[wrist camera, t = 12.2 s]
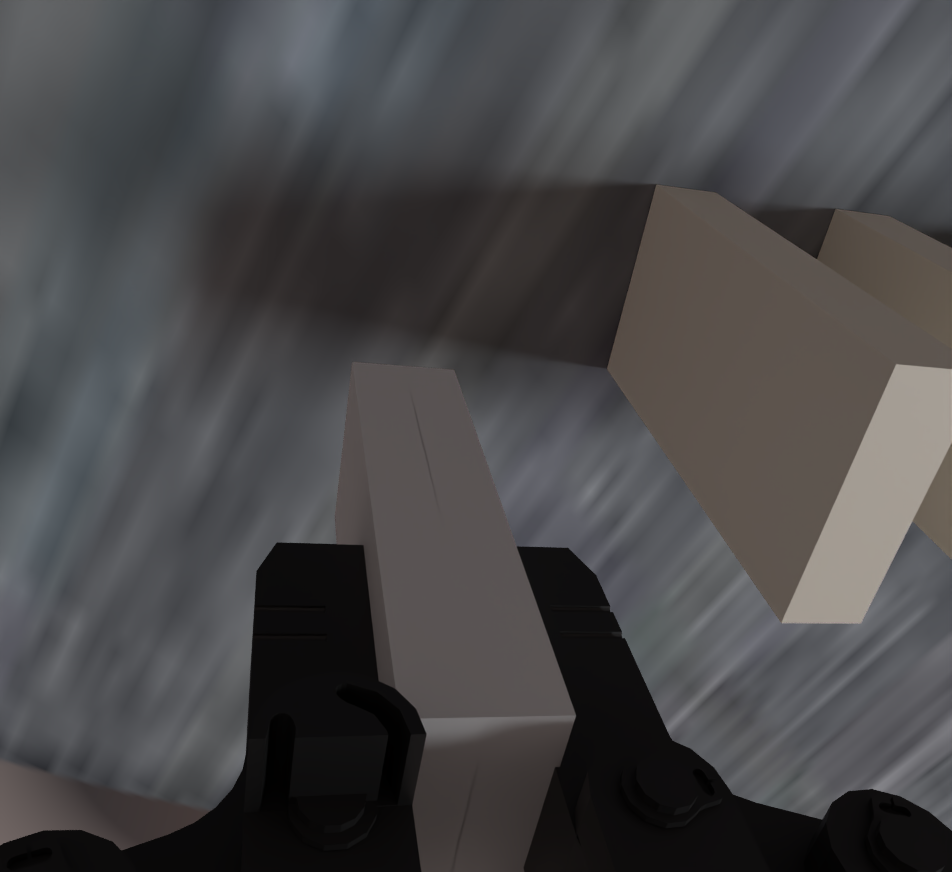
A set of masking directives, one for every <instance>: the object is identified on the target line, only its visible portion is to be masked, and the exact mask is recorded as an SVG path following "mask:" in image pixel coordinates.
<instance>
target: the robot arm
mask: <svg viewBox="0 0 952 872" xmlns="http://www.w3.org/2000/svg"><path fill="white" fill-rule="evenodd" d="M335 526H336V540H337V544H310V543H276V544H275V546H274V547H273V549H272V550H271V551H270V553H269V554H268V556H267V557H266V559H265V560H264V561H263V563H262V564H261V566H260V567H259V568H258V570H257V573H256V589H255V605H254V622H253V638H252V654H251V671H250V689H249V707H248V725H247V743H246V756H245V761H244V766H243V770H242V772H241V774H240V776H239V778H238V779H237V781H236V783H235V785H234V787H233V789H232V790H231V791H230V792H229V793H228V794H227V796H226V797H225V798H224V799H223V800H222V801H221V802H220V803H219V805H218V806H217V807H216V808H214V809H213V810H212V811H210V812H209V813H207V814H206V815H205V816H203V817H202V818H201V819H199V820H198V821H196V822H195V823H193V824H191V825H188V826H186V827H184V828H182V829H180V830H178V831H175V832H173V833H171V834H169V835H166V836H163V837H160V838H157V839H154V840H151V841H148V842H145V843H142V844H139V845H136V846H134V847H131V848H128V849H125V850H122V851H121V850H120V849H119V848H118V847H117V846H116V845H115V844H114V843H113V842H112V841H109V840H107V839H104V838H101V837H99V836H96V835H93V834H90V833H88V832H85V831H82V830H60V831H59V830H52V831H41V832H38V833H34V834H31V835H28V836H25V837H22V838H19V839H16V840H13V841H9V842H7V843H3V844H2V845H0V872H952V831H951V830H950V829H949V828H948V827H946V826H945V825H944V824H943V823H942V822H941V821H939V820H938V819H937V818H936V817H935V816H933V815H932V814H931V813H930V812H928V811H926V810H925V809H923V808H921V807H919V806H917V805H915V804H913V803H912V802H910V801H908V800H906V799H904V798H902V797H900V796H897V795H893V794H889V793H885V792H881V791H877V790H873V789H869V790H858V791H848V792H847V793H845V794H844V795H842V796H841V797H840V798H838V799H837V800H835V801H834V802H832V804H831V806H830V807H829V809H828V811H827V813H826V815H825V816H824V818H823V820H821V819H817V818H813V817H809V816H806V815H802V814H798V813H794V812H790V811H786V810H782V809H778V808H774V807H770V806H767V805H763V804H759V803H755V802H752V801H750V800H747V799H744V798H741V797H738V796H735V795H733V794H732V793H731V791H730V790H729V788H728V787H727V785H726V784H725V783H724V781H723V780H722V778H721V777H720V776H719V774H718V773H717V771H716V770H715V769H714V767H713V766H711V765H710V764H709V763H708V762H706V761H705V760H704V759H703V758H701V757H700V756H699V755H698V754H696V753H695V752H694V751H693V750H691V749H690V748H688V747H685V746H683V745H681V744H679V743H676V742H674V741H672V739H671V737H670V736H669V734H668V732H667V729H666V727H665V725H664V723H663V721H662V718H661V716H660V714H659V712H658V710H657V708H656V705H655V703H654V701H653V699H652V697H651V694H650V692H649V690H648V688H647V686H646V683H645V681H644V679H643V677H642V675H641V673H640V670H639V668H638V666H637V664H636V662H635V659H634V657H633V655H632V653H631V651H630V648H629V646H628V644H627V642H626V640H625V638H622V631H621V629H620V627H619V624H618V622H617V620H616V618H615V616H614V614H613V612H610V605H609V603H608V600H607V598H606V596H605V594H604V592H603V589H602V587H601V585H600V583H599V581H598V579H597V576H596V575H595V574H594V573H593V572H592V571H591V570H590V569H589V568H588V567H587V566H586V565H585V564H584V563H583V562H582V561H581V560H580V559H579V558H578V557H577V556H576V555H575V554H574V553H573V552H572V551H571V550H570V549H569V548H551V547H516V544H515V541H514V538H513V535H512V532H511V530H510V527H509V524H508V521H507V518H506V515H505V513H504V510H503V507H502V504H501V501H500V498H499V496H498V493H497V490H496V487H495V484H494V481H493V479H492V476H491V473H490V470H489V467H488V464H487V462H486V459H485V456H484V453H483V450H482V447H481V445H480V442H479V439H478V436H477V433H476V430H475V427H474V425H473V422H472V419H471V416H470V413H469V410H468V408H467V405H466V402H465V399H464V396H463V393H462V391H461V388H460V385H459V382H458V379H457V376H456V374H455V371H454V370H452V369H439V368H426V367H413V366H400V365H387V364H374V363H362V362H352V369H351V378H350V386H349V395H348V404H347V413H346V422H345V431H344V440H343V449H342V458H341V467H340V476H339V484H338V493H337V502H336V511H335Z"/></svg>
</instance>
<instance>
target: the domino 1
mask: <svg viewBox="0 0 952 872" xmlns="http://www.w3.org/2000/svg"><path fill="white" fill-rule="evenodd" d="M607 370H608V371H609V373H610V374H611V376H612V377H613V379H614V380H615V382H616V383H617V384H618V386H619V387H620V389H621V390H622V392H623V393H624V395H625V396H626V398H627V399H628V400H629V402H630V403H631V405H632V406H633V408H634V409H635V411H636V412H637V414H638V415H639V416H640V418H641V419H642V421H643V422H644V424H645V425H646V427H647V428H648V430H649V431H650V433H651V434H652V435H653V437H654V438H655V440H656V441H657V443H658V444H659V446H660V447H661V449H662V450H663V451H664V453H665V454H666V456H667V457H668V459H669V460H670V462H671V463H672V465H673V466H674V467H675V469H676V470H677V472H678V473H679V475H680V476H681V478H682V479H683V481H684V482H685V483H686V485H687V486H688V488H689V489H690V491H691V492H692V494H693V495H694V497H695V498H696V500H697V501H698V502H699V504H700V505H701V507H702V508H703V510H704V511H705V513H706V514H707V516H708V517H709V518H710V520H711V521H712V523H713V524H714V526H715V527H716V529H717V530H718V532H719V533H720V534H721V536H722V537H723V539H724V540H725V542H726V543H727V545H728V546H729V548H730V549H731V550H732V552H733V553H734V555H735V556H736V558H737V559H738V561H739V562H740V564H741V565H742V567H743V568H744V569H745V571H746V572H747V574H748V575H749V577H750V578H751V580H752V581H753V583H754V584H755V585H756V587H757V588H758V590H759V591H760V593H761V594H762V596H763V597H764V599H765V600H766V601H767V603H768V604H769V606H770V607H771V609H772V610H773V612H774V613H775V615H776V616H777V617H778V619H779V620H780V622H781V623H857V624H861V622H862V620H863V618H864V616H865V614H866V612H867V610H868V608H869V606H870V604H871V602H872V600H873V598H874V596H875V594H876V592H877V590H878V588H879V586H880V584H881V582H882V580H883V578H884V577H885V575H886V573H887V571H888V569H889V567H890V565H891V563H892V561H893V559H894V557H895V555H896V553H897V551H898V549H899V547H900V545H901V543H902V541H903V539H904V537H905V535H906V533H907V531H908V529H909V527H910V525H911V523H912V521H913V519H914V517H915V515H916V513H917V511H918V509H919V507H920V505H921V503H922V501H923V499H924V497H925V495H926V493H927V491H928V489H929V487H930V485H931V483H932V481H933V479H934V477H935V475H936V473H937V471H938V469H939V467H940V465H941V463H942V461H943V459H944V457H945V455H946V453H947V451H948V449H949V447H950V445H951V443H952V349H951V348H950V347H948V346H947V345H945V344H944V343H942V342H940V341H939V340H937V339H936V338H934V337H933V336H931V335H930V334H928V333H927V332H925V331H924V330H922V329H921V328H919V327H918V326H916V325H915V324H913V323H912V322H910V321H909V320H907V319H906V318H904V317H903V316H901V315H900V314H898V313H897V312H895V311H894V310H892V309H891V308H889V307H888V306H886V305H885V304H883V303H882V302H880V301H879V300H877V299H876V298H874V297H873V296H871V295H870V294H868V293H867V292H865V291H864V290H862V289H861V288H859V287H858V286H856V285H855V284H853V283H852V282H850V281H848V280H847V279H845V278H844V277H842V276H841V275H839V274H838V273H836V272H835V271H833V270H832V269H830V268H829V267H827V266H826V265H824V264H823V263H821V262H820V261H818V260H817V259H815V258H814V257H812V256H811V255H809V254H808V253H806V252H805V251H803V250H802V249H800V248H799V247H797V246H796V245H794V244H793V243H791V242H790V241H788V240H787V239H785V238H784V237H782V236H781V235H779V234H778V233H776V232H775V231H773V230H772V229H770V228H769V227H767V226H766V225H764V224H763V223H761V222H760V221H758V220H756V219H755V218H753V217H752V216H750V215H749V214H747V213H746V212H744V211H743V210H741V209H740V208H738V207H737V206H735V205H734V204H732V203H731V202H729V201H728V200H726V199H725V198H723V197H722V196H720V195H719V194H717V193H715V192H708V191H701V190H693V189H686V188H679V187H671V186H664V185H657V184H656V187H655V191H654V195H653V199H652V202H651V206H650V210H649V214H648V217H647V221H646V225H645V229H644V232H643V236H642V240H641V244H640V247H639V251H638V255H637V258H636V262H635V266H634V270H633V273H632V277H631V281H630V285H629V288H628V292H627V296H626V300H625V303H624V307H623V311H622V315H621V318H620V322H619V326H618V329H617V333H616V337H615V341H614V344H613V348H612V352H611V356H610V359H609V363H608V367H607Z"/></svg>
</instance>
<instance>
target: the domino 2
mask: <svg viewBox="0 0 952 872" xmlns="http://www.w3.org/2000/svg"><path fill="white" fill-rule="evenodd" d="M817 260H818V261H820V262H821V263H823V264H824V265H826V266H827V267H829V268H830V269H832V270H833V271H835V272H836V273H838V274H839V275H841V276H842V277H844V278H845V279H847V280H848V281H850V282H852V283H853V284H855V285H856V286H858V287H859V288H861V289H862V290H864V291H865V292H867V293H868V294H870V295H871V296H873V297H874V298H876V299H877V300H879V301H880V302H882V303H883V304H885V305H886V306H888V307H889V308H891V309H892V310H894V311H895V312H897V313H898V314H900V315H901V316H903V317H904V318H906V319H907V320H909V321H910V322H912V323H913V324H915V325H916V326H918V327H919V328H921V329H922V330H924V331H925V332H927V333H928V334H930V335H931V336H933V337H934V338H936V339H937V340H939V341H940V342H942V343H944V344H945V345H947V346H948V347H950V348H951V349H952V248H951V247H949V246H947V245H945V244H943V243H941V242H939V241H937V240H935V239H933V238H931V237H929V236H927V235H925V234H923V233H921V232H919V231H917V230H915V229H914V228H912V227H910V226H908V225H906V224H904V223H902V222H900V221H898V220H896V219H894V218H892V217H890V216H885V215H878V214H870V213H863V212H856V211H848V210H841V209H835V212H834V214H833V217H832V220H831V223H830V225H829V228H828V231H827V233H826V236H825V239H824V241H823V244H822V247H821V249H820V252H819V255H818V258H817ZM913 522H914V523H915V524H916V525H917V526H918V527H919V528H920V529H921V530H922V531H923V532H924V533H925V534H926V535H927V536H928V537H929V538H930V539H931V540H932V541H933V542H934V543H935V544H936V545H937V546H938V547H940V548H941V549H942V550H943V551H944V552H945V553H946V554H947V555H948V556H949V557H950V558H951V559H952V443H951V445H950V447H949V449H948V451H947V453H946V455H945V457H944V459H943V461H942V463H941V465H940V467H939V469H938V471H937V473H936V475H935V477H934V479H933V481H932V483H931V485H930V487H929V489H928V491H927V493H926V495H925V497H924V499H923V501H922V503H921V505H920V507H919V509H918V511H917V513H916V515H915V517H914V519H913Z"/></svg>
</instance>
